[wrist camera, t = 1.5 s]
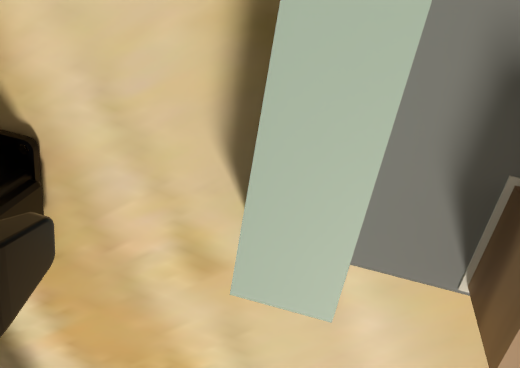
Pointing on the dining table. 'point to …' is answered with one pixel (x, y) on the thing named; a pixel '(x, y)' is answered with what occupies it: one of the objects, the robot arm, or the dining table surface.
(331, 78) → the beam
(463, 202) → the grey flat rectangular slab
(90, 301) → the dining table surface
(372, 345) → the dining table surface
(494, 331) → the pillar
